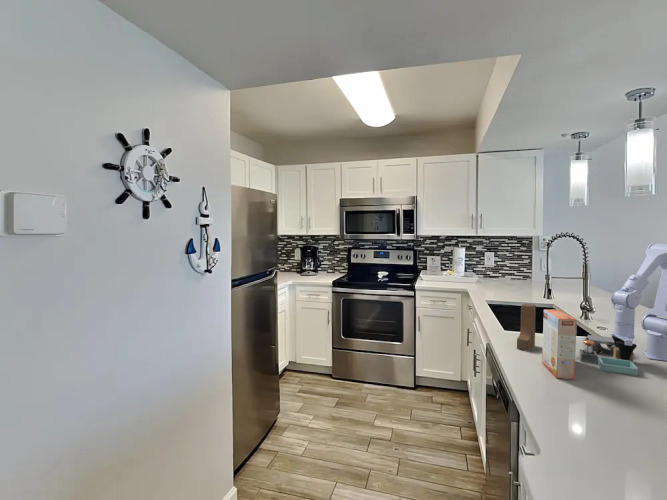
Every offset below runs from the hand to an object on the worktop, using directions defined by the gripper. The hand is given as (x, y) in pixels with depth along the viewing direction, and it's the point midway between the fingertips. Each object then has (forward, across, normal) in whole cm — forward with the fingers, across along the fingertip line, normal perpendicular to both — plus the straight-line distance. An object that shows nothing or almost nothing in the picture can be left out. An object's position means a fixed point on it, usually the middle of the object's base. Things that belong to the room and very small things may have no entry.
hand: (623, 358), depth 131 cm
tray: (+1, +9, -4) cm, 10 cm away
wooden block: (+2, -2, -32) cm, 32 cm away
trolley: (+1, -11, -4) cm, 12 cm away
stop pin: (+1, +3, -11) cm, 11 cm away
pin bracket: (+1, +3, -11) cm, 11 cm away
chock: (+2, 0, 0) cm, 2 cm away
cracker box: (+2, +20, -22) cm, 29 cm away
